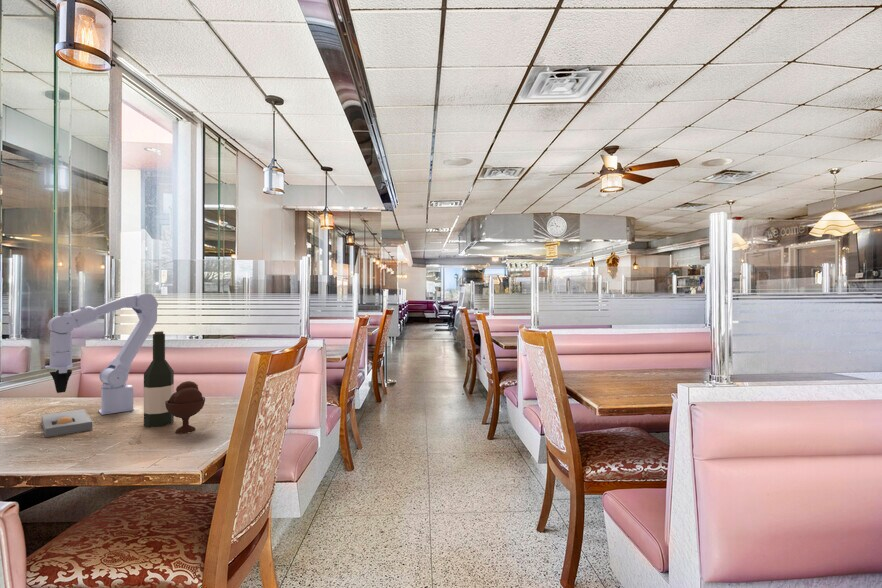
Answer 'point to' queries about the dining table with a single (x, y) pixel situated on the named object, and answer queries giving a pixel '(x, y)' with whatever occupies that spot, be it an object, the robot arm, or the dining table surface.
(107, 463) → the dining table surface
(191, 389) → the ice cream bowl
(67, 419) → the ball
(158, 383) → the wine bottle
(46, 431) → the board
